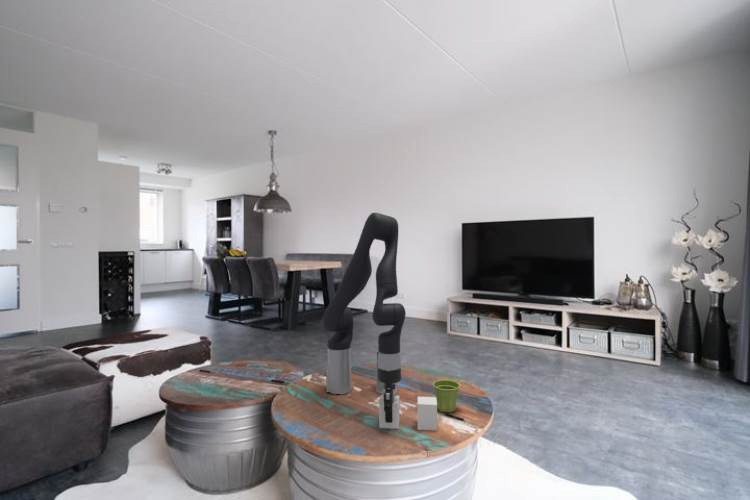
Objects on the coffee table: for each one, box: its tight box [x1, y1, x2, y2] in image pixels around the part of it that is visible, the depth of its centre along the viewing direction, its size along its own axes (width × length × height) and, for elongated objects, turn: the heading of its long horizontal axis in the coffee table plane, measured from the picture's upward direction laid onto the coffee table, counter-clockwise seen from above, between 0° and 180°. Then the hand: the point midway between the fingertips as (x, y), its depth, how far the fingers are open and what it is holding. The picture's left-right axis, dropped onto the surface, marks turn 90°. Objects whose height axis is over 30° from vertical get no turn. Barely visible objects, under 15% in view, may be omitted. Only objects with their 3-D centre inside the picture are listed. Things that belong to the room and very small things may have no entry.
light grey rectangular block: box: [417, 396, 438, 432], centre depth 119 cm, size 6×6×8 cm
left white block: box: [378, 394, 400, 430], centre depth 121 cm, size 6×6×8 cm
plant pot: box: [432, 379, 461, 413], centre depth 131 cm, size 9×9×9 cm
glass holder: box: [375, 351, 398, 395], centre depth 152 cm, size 9×14×15 cm, turn 166°
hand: (389, 417), depth 121 cm, fingers closed on left white block, 6 cm apart
